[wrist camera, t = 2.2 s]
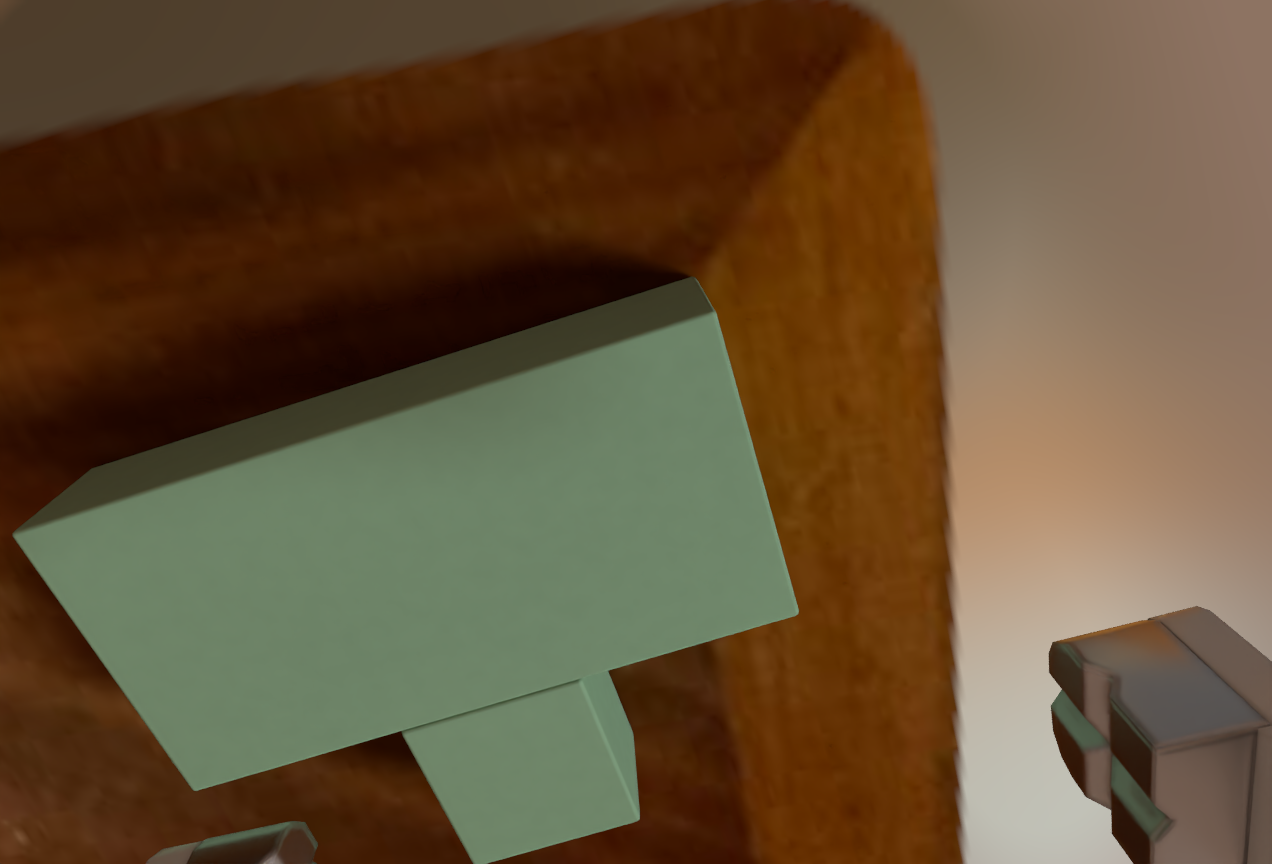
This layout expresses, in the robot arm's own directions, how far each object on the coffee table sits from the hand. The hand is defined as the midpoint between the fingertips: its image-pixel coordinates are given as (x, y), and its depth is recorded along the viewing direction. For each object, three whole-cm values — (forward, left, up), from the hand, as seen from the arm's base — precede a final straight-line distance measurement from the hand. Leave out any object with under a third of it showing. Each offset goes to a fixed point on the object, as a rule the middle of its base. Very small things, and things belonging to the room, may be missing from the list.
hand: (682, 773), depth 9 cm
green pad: (+4, +2, -8) cm, 9 cm away
